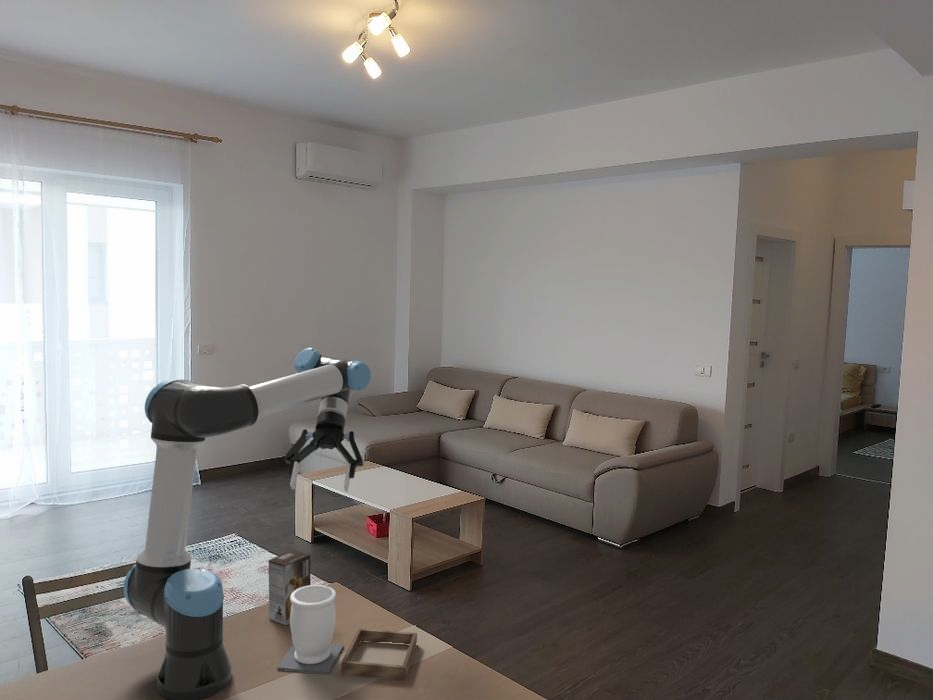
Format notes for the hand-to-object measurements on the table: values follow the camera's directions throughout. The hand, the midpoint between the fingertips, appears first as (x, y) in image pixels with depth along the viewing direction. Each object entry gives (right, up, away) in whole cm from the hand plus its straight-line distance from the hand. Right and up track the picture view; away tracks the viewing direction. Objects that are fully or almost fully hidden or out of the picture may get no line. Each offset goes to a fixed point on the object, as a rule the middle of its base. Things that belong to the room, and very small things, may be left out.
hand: (319, 487), depth 178 cm
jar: (+1, -37, -13) cm, 39 cm away
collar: (+17, -38, -13) cm, 43 cm away
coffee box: (-9, -35, +7) cm, 37 cm away
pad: (+1, -37, -13) cm, 40 cm away
